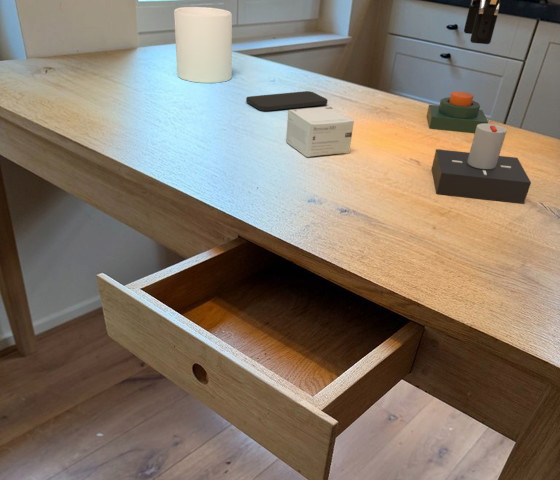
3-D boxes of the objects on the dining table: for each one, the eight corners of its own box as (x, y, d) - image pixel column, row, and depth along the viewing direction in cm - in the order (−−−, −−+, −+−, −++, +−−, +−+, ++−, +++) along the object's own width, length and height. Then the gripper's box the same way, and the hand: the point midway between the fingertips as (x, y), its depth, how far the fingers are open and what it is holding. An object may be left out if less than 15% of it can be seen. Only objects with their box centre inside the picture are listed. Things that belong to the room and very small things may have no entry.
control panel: (511, 177, 85) (517, 156, 83) (523, 203, 78) (531, 181, 76) (431, 169, 86) (436, 147, 84) (436, 194, 79) (441, 171, 76)
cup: (208, 67, 129) (206, 5, 121) (242, 78, 123) (243, 14, 115) (166, 74, 122) (162, 8, 114) (201, 85, 116) (199, 17, 108)
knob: (465, 158, 82) (475, 119, 78) (493, 161, 81) (504, 122, 78) (469, 168, 79) (480, 128, 75) (498, 170, 78) (510, 131, 75)
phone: (243, 96, 108) (310, 90, 114) (243, 101, 109) (309, 95, 115) (261, 107, 103) (330, 100, 109) (261, 112, 104) (329, 105, 110)
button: (469, 103, 104) (472, 92, 103) (472, 108, 101) (474, 98, 100) (447, 100, 104) (450, 90, 103) (449, 106, 101) (452, 96, 100)
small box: (306, 158, 86) (310, 123, 83) (284, 142, 92) (287, 108, 88) (350, 154, 89) (355, 119, 86) (326, 138, 95) (330, 105, 91)
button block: (479, 122, 108) (485, 99, 105) (484, 134, 101) (491, 111, 99) (426, 116, 108) (431, 94, 106) (429, 129, 102) (434, 105, 100)
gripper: (476, -96, 92) (449, 28, 103) (492, -97, 78) (459, 45, 89) (523, -92, 91) (490, 32, 102) (547, -92, 78) (507, 50, 89)
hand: (476, 37), depth 96 cm, fingers open, 8 cm apart
